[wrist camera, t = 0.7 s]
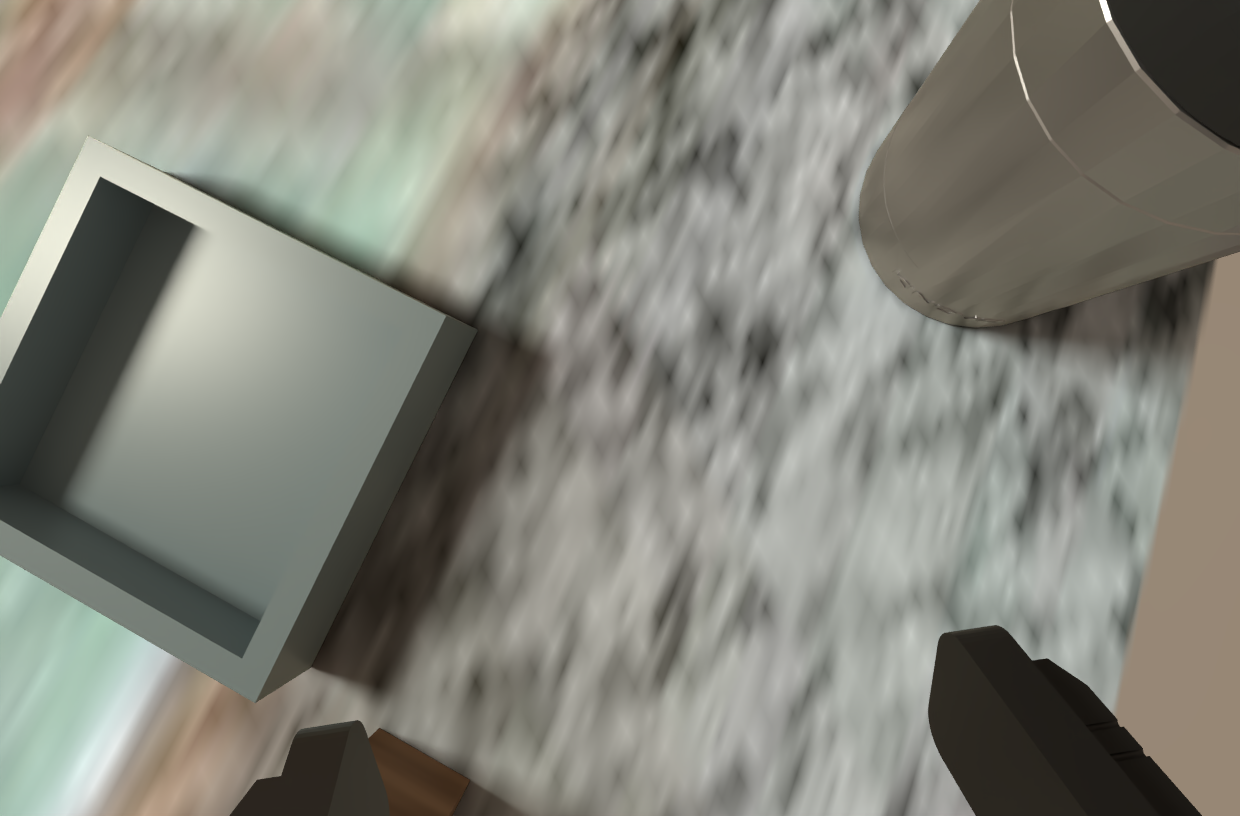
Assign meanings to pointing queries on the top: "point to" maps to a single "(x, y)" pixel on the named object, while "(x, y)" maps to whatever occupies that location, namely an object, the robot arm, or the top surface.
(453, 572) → the top surface
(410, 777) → the walnut block
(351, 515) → the slate tray
